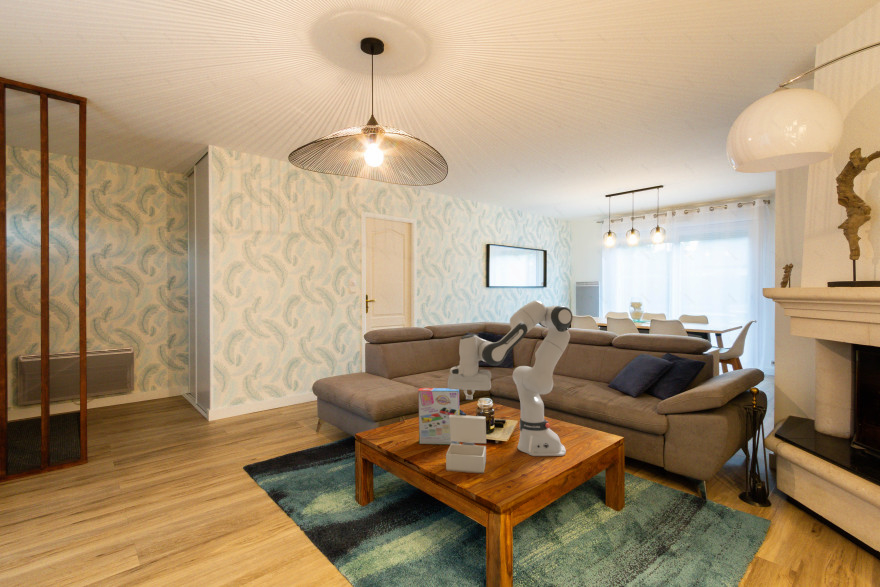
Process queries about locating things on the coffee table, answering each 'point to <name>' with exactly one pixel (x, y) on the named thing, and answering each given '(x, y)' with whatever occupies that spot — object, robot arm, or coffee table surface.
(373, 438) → the coffee table surface
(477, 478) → the coffee table surface
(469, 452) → the mailer box
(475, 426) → the lid
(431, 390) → the game box
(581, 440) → the coffee table surface
